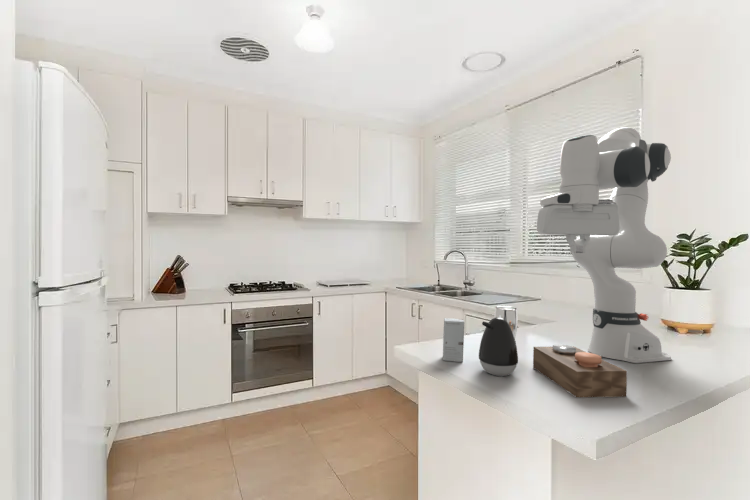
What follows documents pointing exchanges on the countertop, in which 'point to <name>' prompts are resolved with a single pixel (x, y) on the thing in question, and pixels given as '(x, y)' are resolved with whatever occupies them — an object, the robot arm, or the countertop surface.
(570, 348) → the steel plunger
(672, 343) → the countertop surface
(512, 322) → the beer glass
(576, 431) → the countertop surface
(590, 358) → the terracotta plunger
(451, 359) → the skincare box
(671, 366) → the countertop surface
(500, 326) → the pump dispenser
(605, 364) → the walnut block
